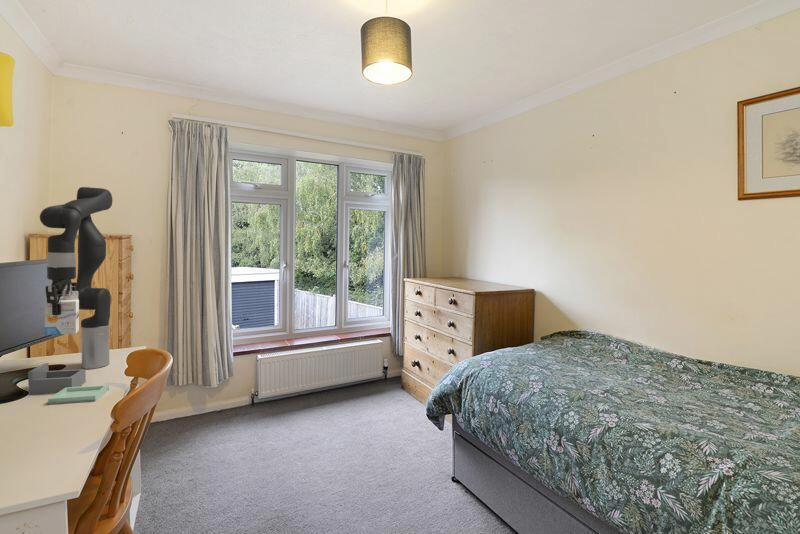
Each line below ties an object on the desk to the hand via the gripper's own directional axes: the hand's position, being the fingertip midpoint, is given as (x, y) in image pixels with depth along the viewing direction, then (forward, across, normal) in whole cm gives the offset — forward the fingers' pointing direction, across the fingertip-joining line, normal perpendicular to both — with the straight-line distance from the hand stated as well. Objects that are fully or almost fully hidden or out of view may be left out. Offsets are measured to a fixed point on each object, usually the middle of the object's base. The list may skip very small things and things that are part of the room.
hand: (62, 313), depth 133 cm
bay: (+28, -4, -3) cm, 28 cm away
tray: (+28, +6, +8) cm, 30 cm away
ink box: (+7, 0, 0) cm, 7 cm away
